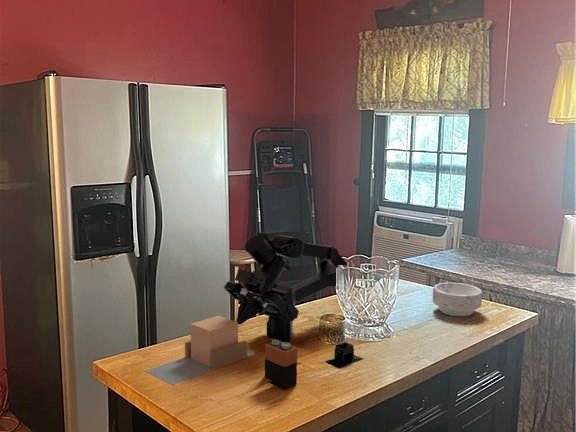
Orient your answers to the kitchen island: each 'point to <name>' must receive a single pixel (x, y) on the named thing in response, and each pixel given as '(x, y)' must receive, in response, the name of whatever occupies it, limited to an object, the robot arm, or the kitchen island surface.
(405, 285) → the kitchen island surface
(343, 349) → the black rectangular piece
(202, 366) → the chute
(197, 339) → the block
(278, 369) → the battery
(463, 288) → the white marble bowl
